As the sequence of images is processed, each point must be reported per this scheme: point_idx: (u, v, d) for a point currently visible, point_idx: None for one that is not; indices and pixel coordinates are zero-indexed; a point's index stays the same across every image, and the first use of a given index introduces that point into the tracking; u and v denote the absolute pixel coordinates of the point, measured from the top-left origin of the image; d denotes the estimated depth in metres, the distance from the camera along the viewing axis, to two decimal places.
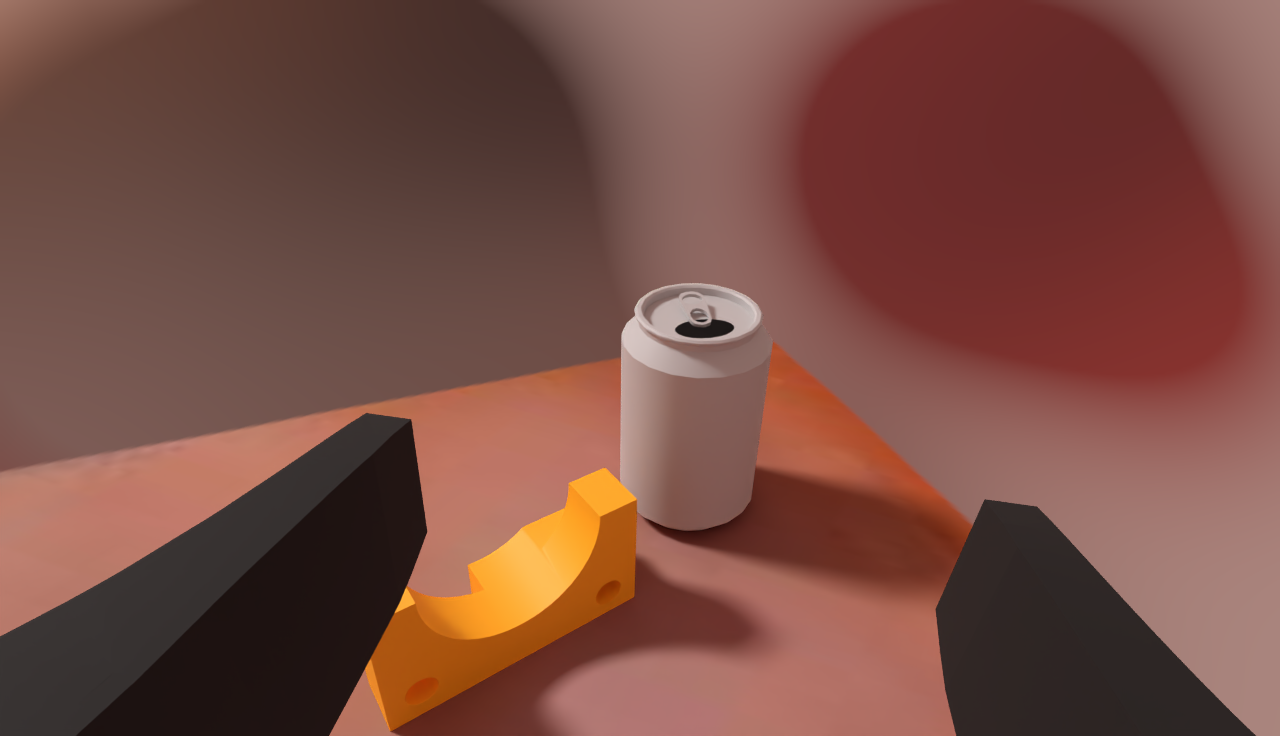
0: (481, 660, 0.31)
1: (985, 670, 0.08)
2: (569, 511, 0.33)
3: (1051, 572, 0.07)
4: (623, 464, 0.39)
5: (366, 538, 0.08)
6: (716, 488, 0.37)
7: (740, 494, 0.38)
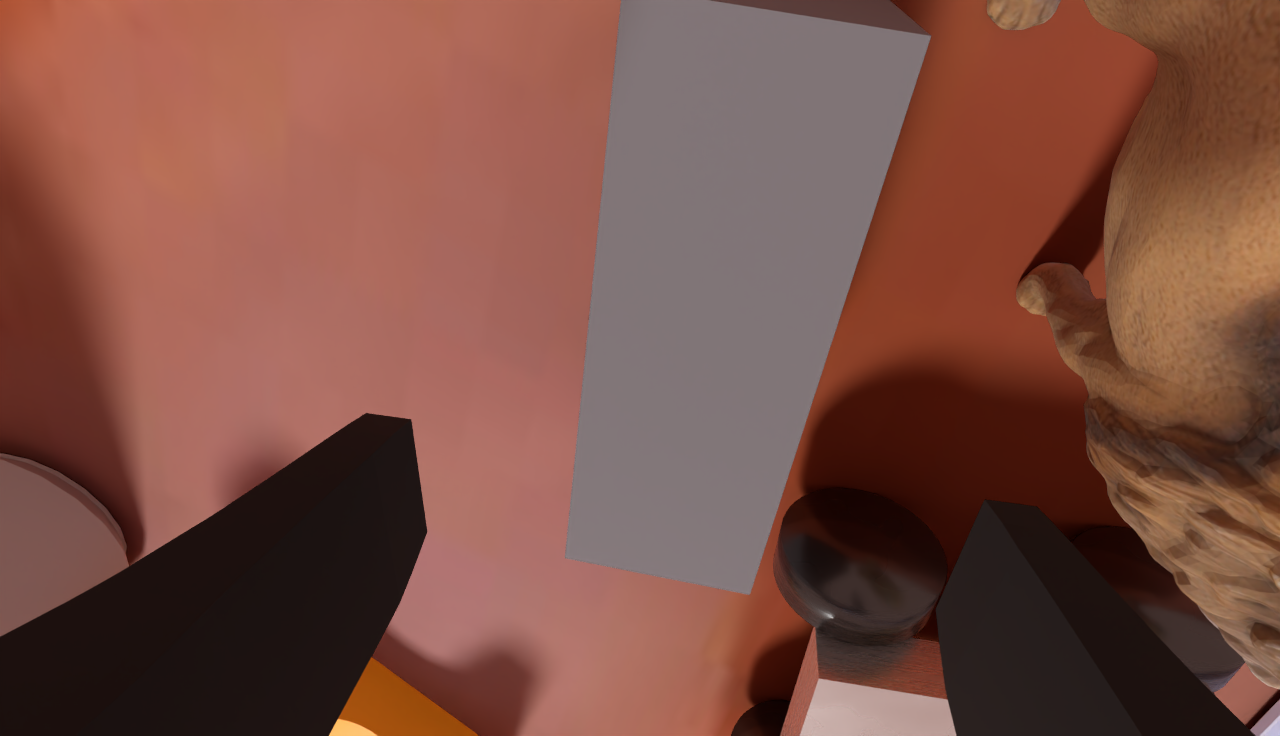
0: None
1: (986, 670, 0.08)
2: None
3: (1051, 572, 0.07)
4: None
5: (366, 538, 0.08)
6: (29, 582, 0.21)
7: (10, 516, 0.22)
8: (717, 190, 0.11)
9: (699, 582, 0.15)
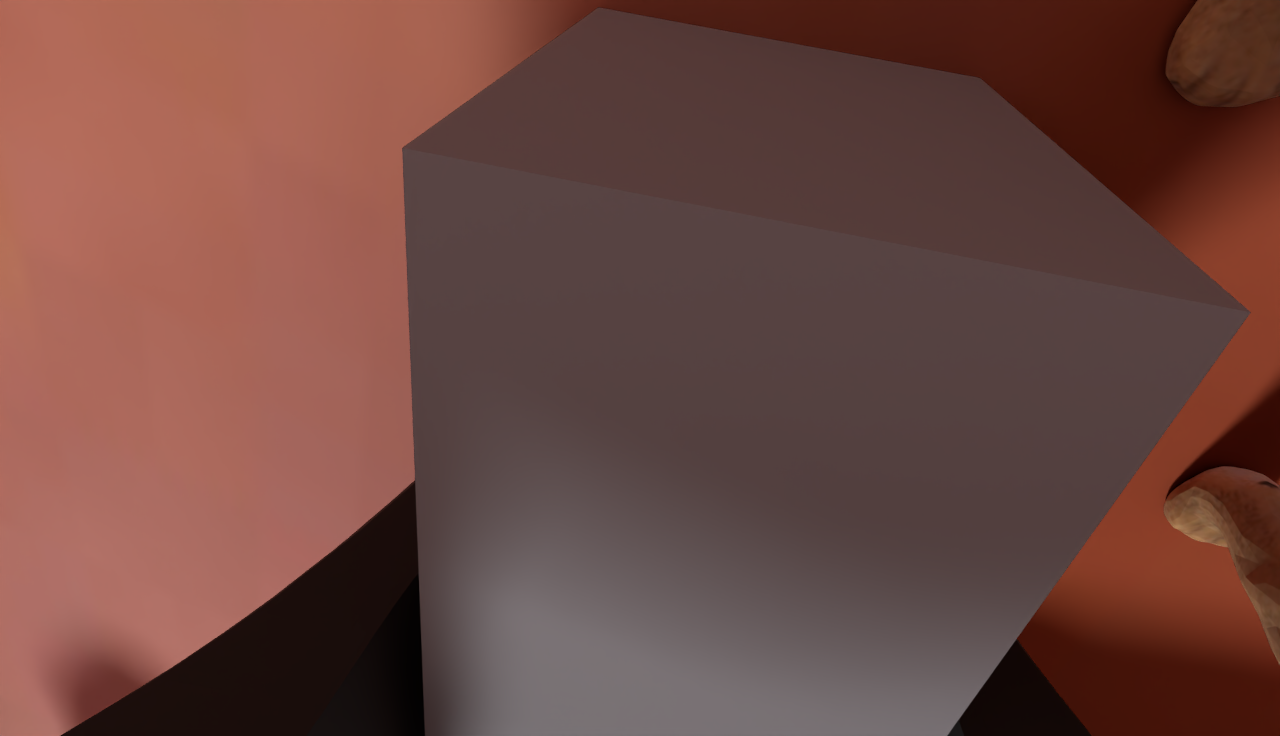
0: None
1: None
2: None
3: None
4: None
5: None
6: None
7: None
8: (668, 564, 0.05)
9: None
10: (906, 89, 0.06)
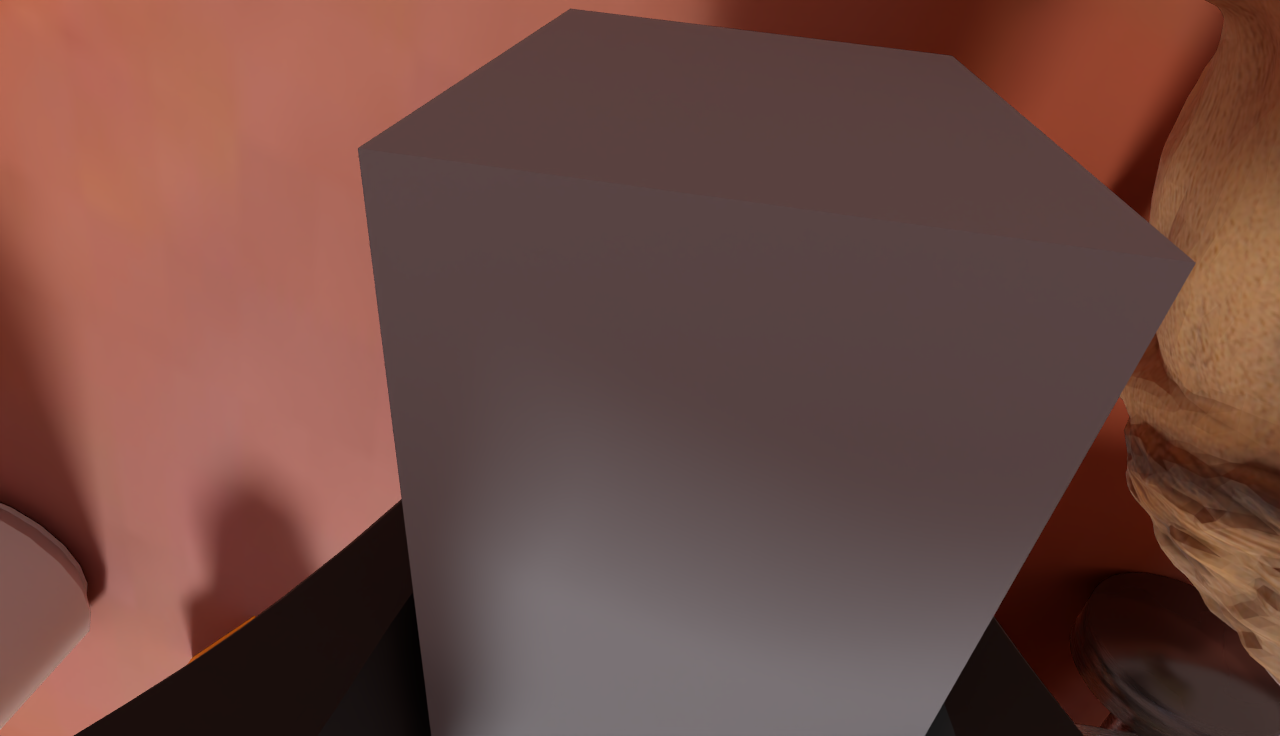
0: None
1: None
2: None
3: None
4: None
5: None
6: None
7: None
8: (650, 548, 0.05)
9: None
10: (874, 70, 0.06)
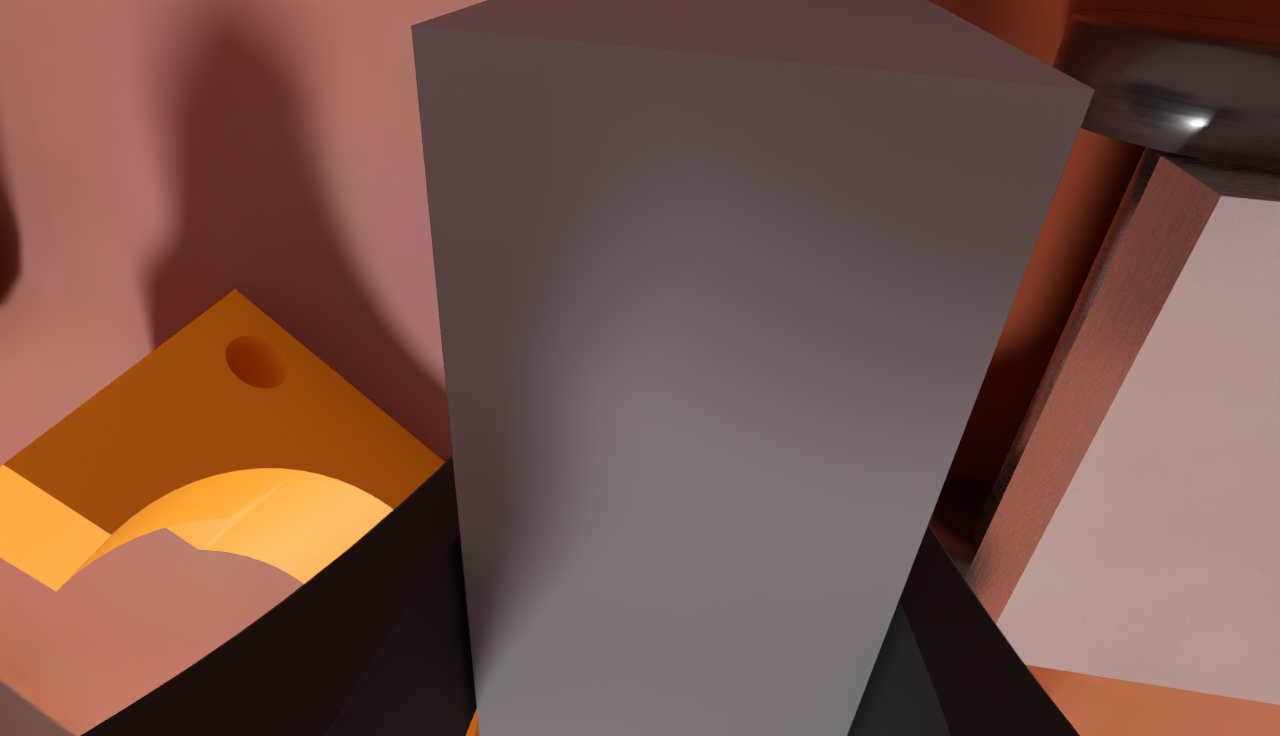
0: None
1: None
2: (125, 539, 0.15)
3: None
4: None
5: None
6: None
7: None
8: (658, 393, 0.06)
9: None
10: (850, 3, 0.07)
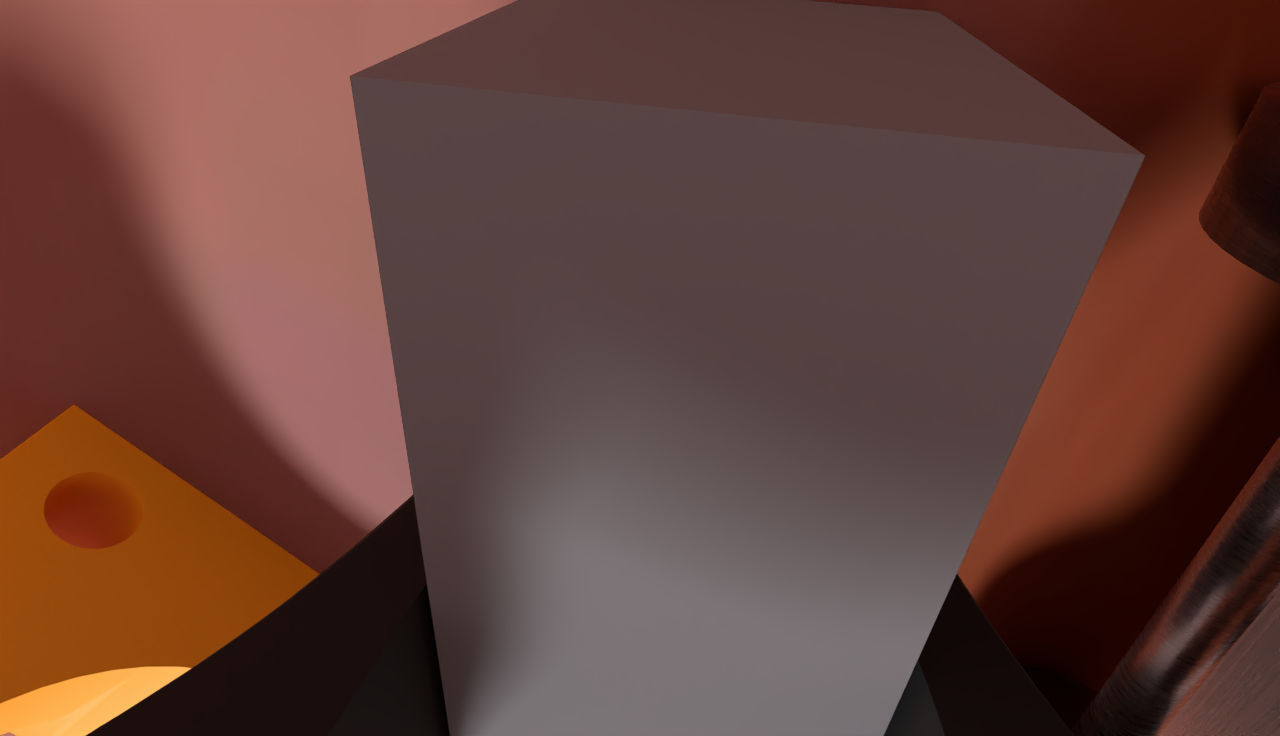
0: None
1: None
2: None
3: None
4: None
5: None
6: None
7: None
8: (641, 473, 0.05)
9: None
10: (857, 22, 0.07)
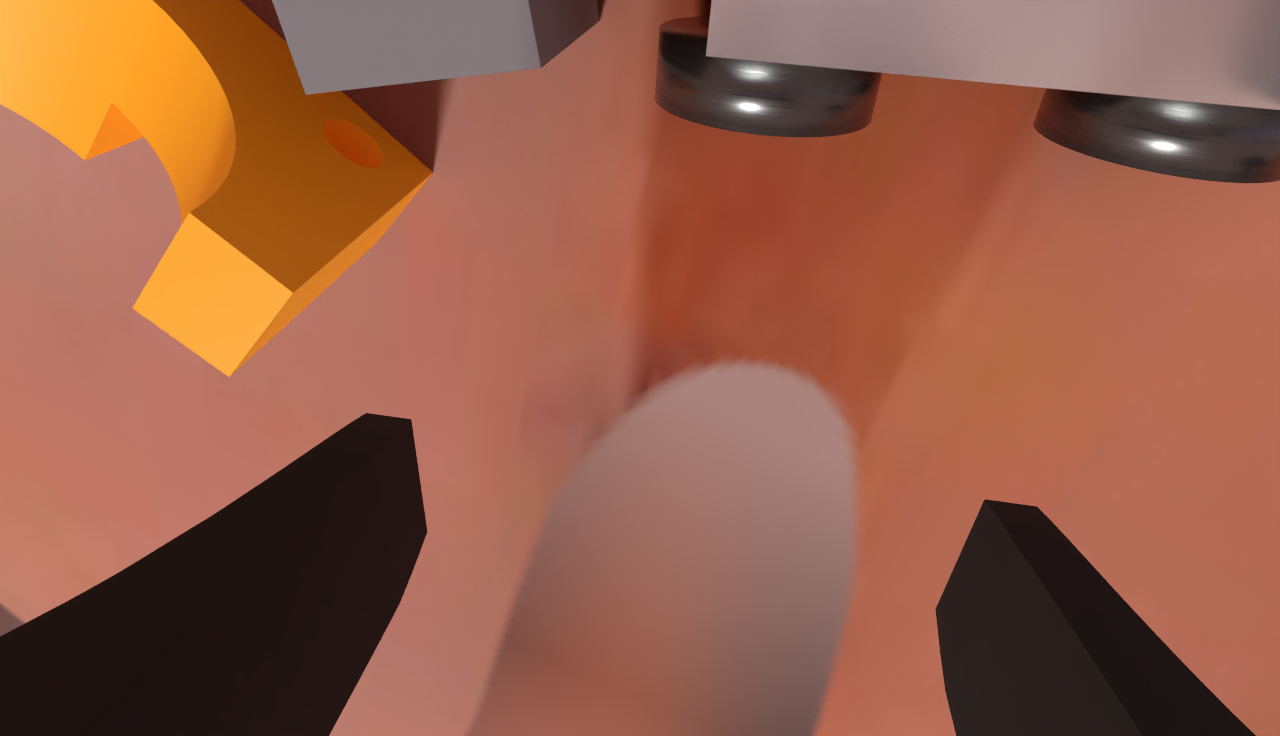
0: (251, 52, 0.15)
1: (986, 670, 0.08)
2: None
3: (1051, 572, 0.07)
4: None
5: (366, 538, 0.08)
6: None
7: None
8: None
9: (471, 70, 0.11)
10: None
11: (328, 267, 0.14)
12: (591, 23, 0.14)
